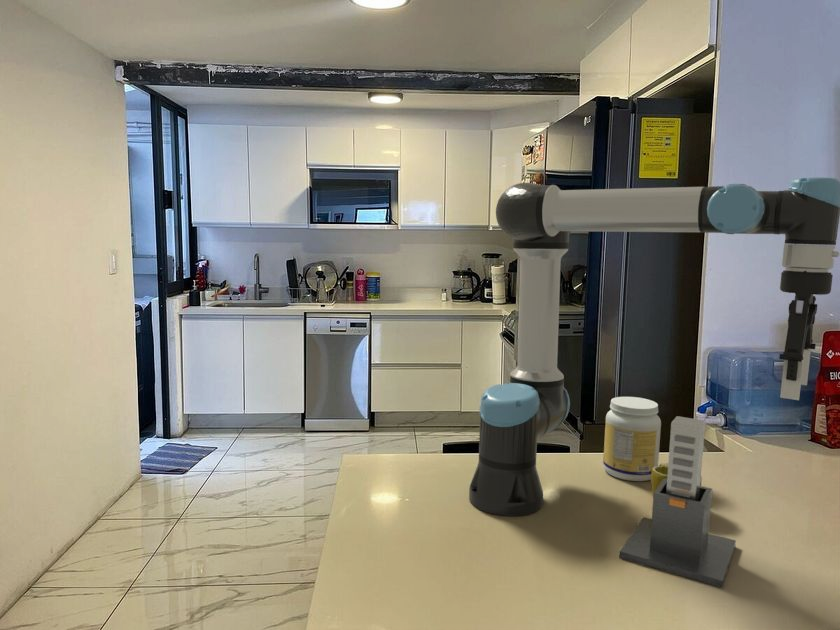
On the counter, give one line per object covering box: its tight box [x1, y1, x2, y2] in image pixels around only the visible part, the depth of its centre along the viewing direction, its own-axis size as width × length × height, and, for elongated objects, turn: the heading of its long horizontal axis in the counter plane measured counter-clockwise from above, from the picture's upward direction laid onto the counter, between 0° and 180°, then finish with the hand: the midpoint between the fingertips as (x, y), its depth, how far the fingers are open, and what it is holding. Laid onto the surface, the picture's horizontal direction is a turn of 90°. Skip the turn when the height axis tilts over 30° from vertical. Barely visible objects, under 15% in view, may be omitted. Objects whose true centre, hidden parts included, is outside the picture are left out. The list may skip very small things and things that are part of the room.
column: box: [666, 415, 706, 502], centre depth 107 cm, size 5×5×22 cm
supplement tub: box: [602, 396, 662, 482], centre depth 145 cm, size 12×12×17 cm
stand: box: [619, 478, 736, 589], centre depth 109 cm, size 16×16×11 cm
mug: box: [650, 462, 703, 496], centre depth 128 cm, size 12×10×10 cm
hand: (794, 391), depth 110 cm, fingers open, 13 cm apart
